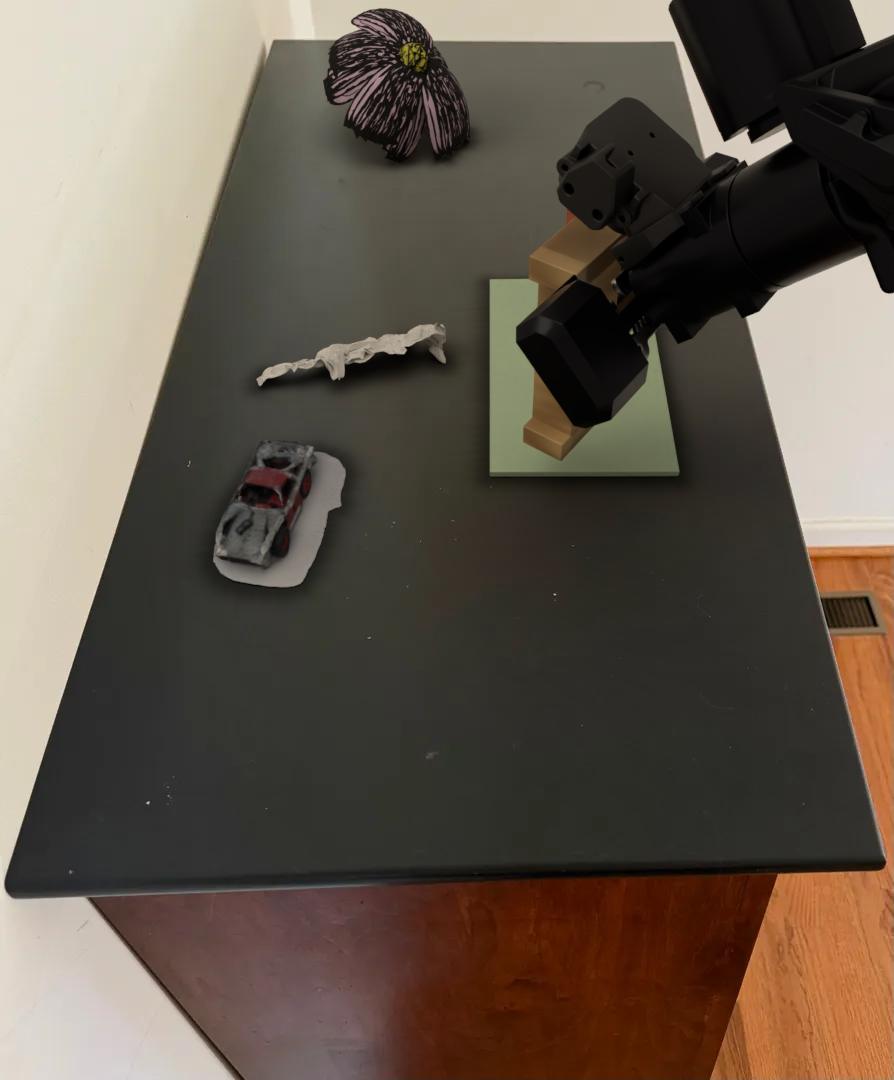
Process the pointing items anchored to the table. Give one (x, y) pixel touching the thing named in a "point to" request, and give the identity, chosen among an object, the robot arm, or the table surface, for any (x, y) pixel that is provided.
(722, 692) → the table surface
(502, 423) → the word mat
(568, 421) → the letter I
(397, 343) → the paper
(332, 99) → the decorative flower
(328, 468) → the toy car
